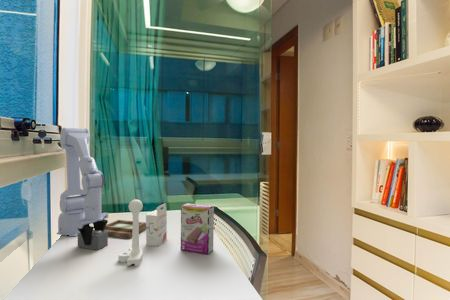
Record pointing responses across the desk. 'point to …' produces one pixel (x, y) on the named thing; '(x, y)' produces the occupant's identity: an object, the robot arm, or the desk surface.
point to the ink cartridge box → (156, 226)
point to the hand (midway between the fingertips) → (93, 242)
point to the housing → (95, 240)
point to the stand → (123, 228)
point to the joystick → (133, 237)
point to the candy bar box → (197, 228)
